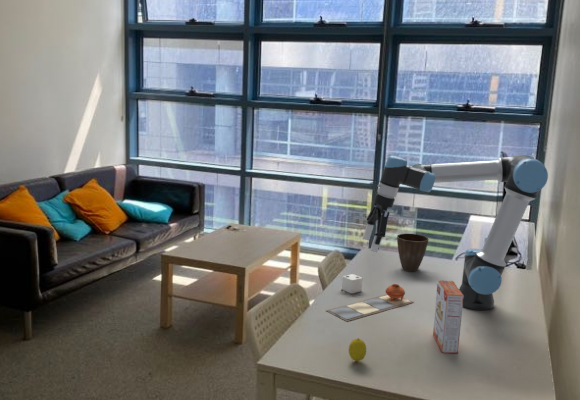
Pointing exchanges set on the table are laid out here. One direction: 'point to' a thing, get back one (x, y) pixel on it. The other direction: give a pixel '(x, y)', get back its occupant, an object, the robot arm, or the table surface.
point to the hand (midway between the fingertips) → (369, 245)
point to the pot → (395, 292)
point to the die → (352, 283)
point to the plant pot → (411, 250)
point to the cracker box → (448, 316)
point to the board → (367, 307)
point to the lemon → (357, 349)
